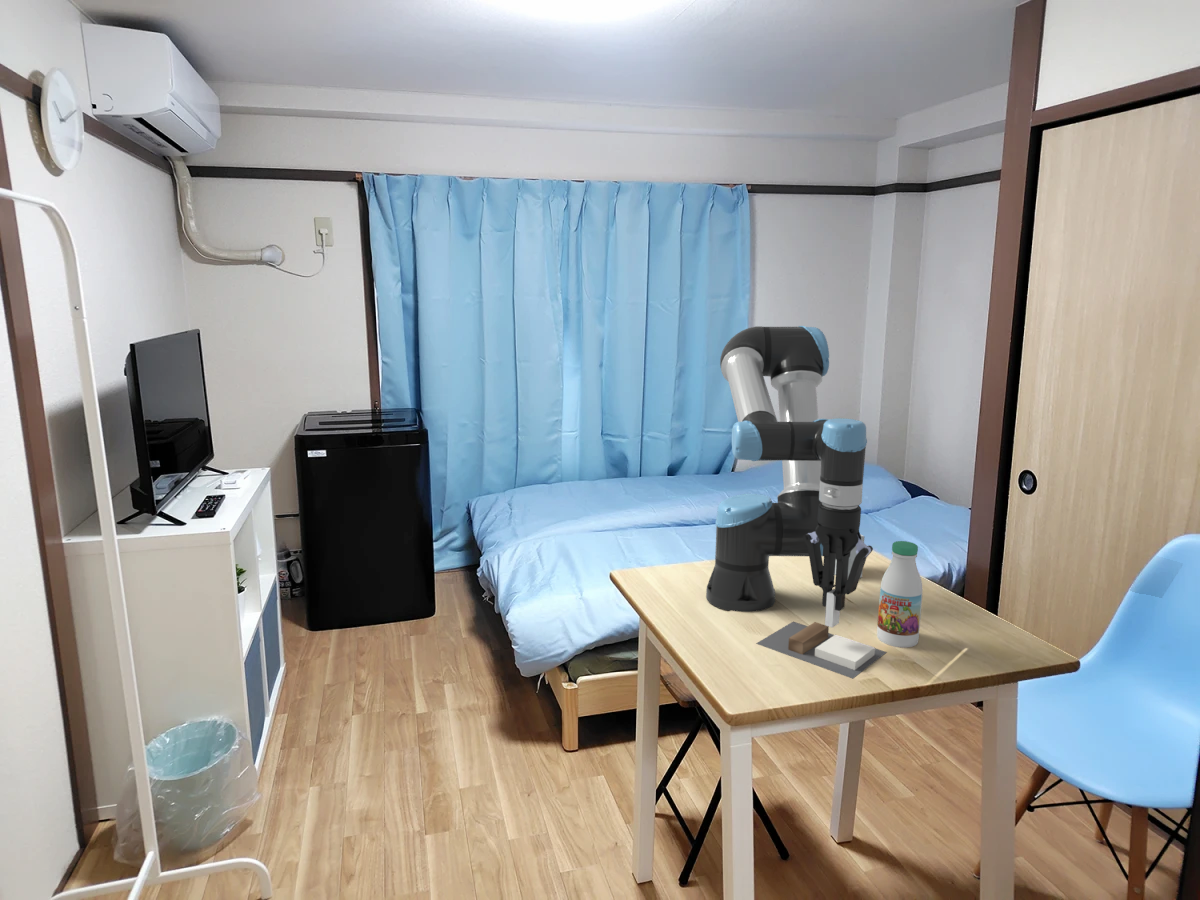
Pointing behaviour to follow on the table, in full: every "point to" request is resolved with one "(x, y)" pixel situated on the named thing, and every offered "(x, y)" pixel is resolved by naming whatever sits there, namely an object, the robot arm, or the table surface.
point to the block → (808, 638)
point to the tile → (845, 652)
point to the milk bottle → (900, 598)
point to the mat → (811, 651)
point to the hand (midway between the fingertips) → (831, 624)
